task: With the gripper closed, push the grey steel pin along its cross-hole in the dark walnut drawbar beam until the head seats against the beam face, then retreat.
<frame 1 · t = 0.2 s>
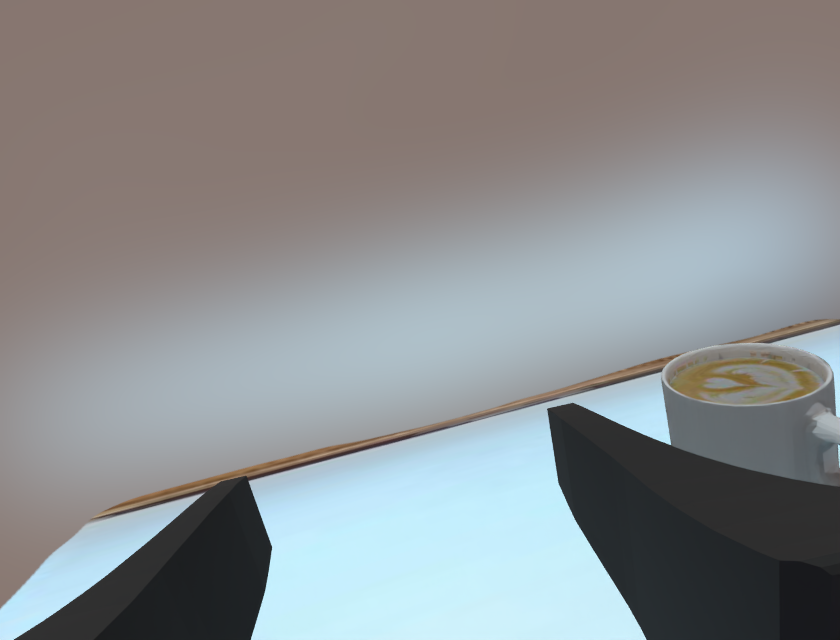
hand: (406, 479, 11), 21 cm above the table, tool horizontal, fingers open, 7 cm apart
coffee mug: (773, 508, 35), on the table
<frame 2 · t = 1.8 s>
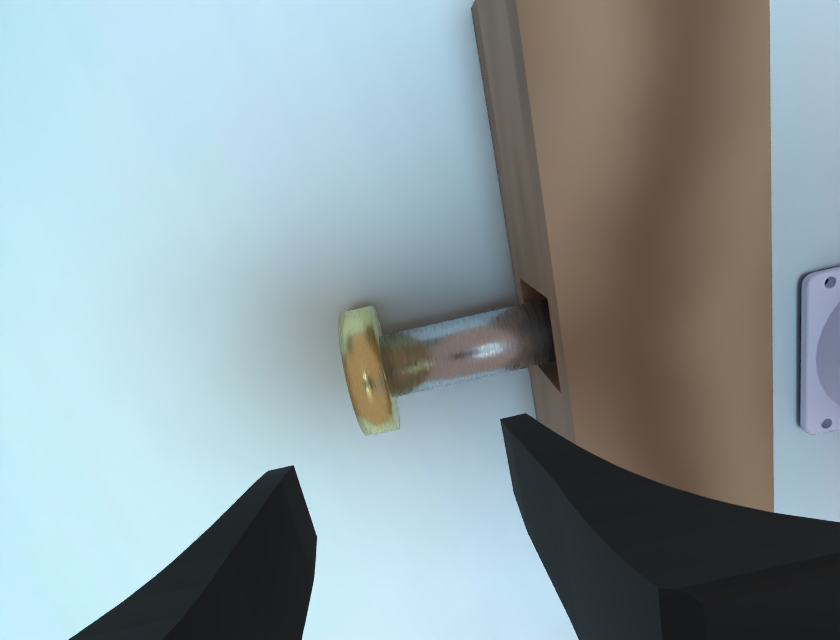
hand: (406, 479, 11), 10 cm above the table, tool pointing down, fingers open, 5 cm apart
drawbar beam: (592, 251, 21), on the table
steel pin: (472, 347, 19), point 3 cm above the table, slide at 0.0 cm
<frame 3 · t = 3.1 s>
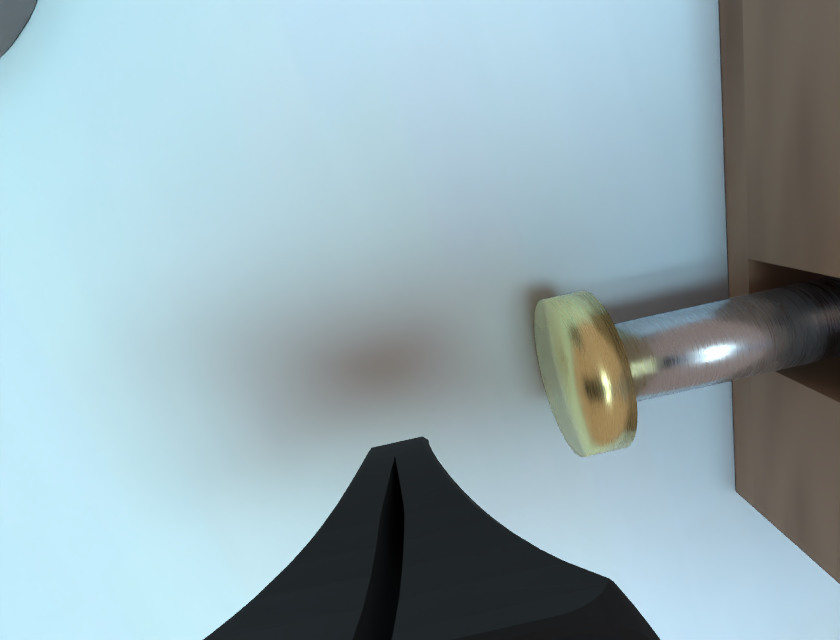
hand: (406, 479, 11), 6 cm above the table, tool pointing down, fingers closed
drawbar beam: (826, 227, 17), on the table
steel pin: (707, 343, 15), point 3 cm above the table, slide at 0.0 cm
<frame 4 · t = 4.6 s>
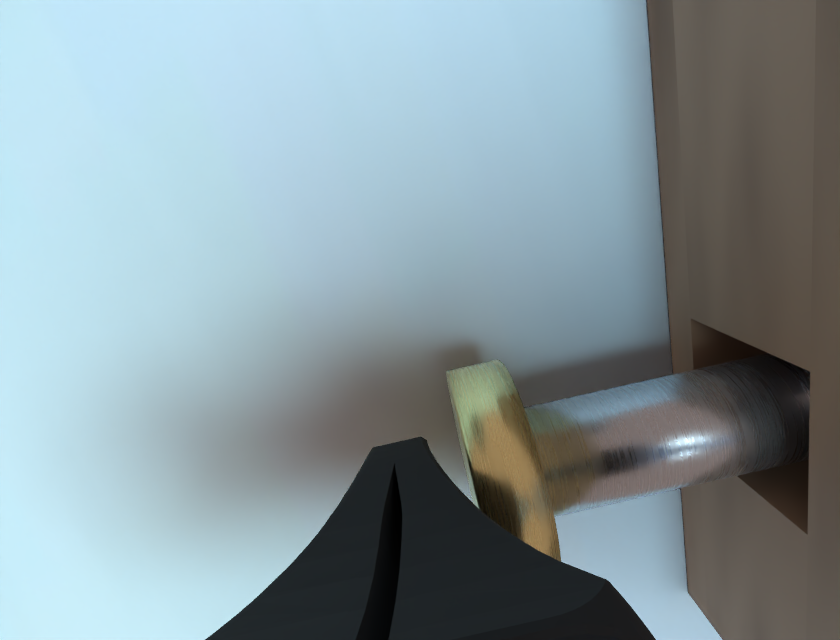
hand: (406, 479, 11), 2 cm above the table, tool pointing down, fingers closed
drawbar beam: (794, 273, 13), on the table
steel pin: (669, 431, 11), point 3 cm above the table, slide at 0.9 cm, touching gripper
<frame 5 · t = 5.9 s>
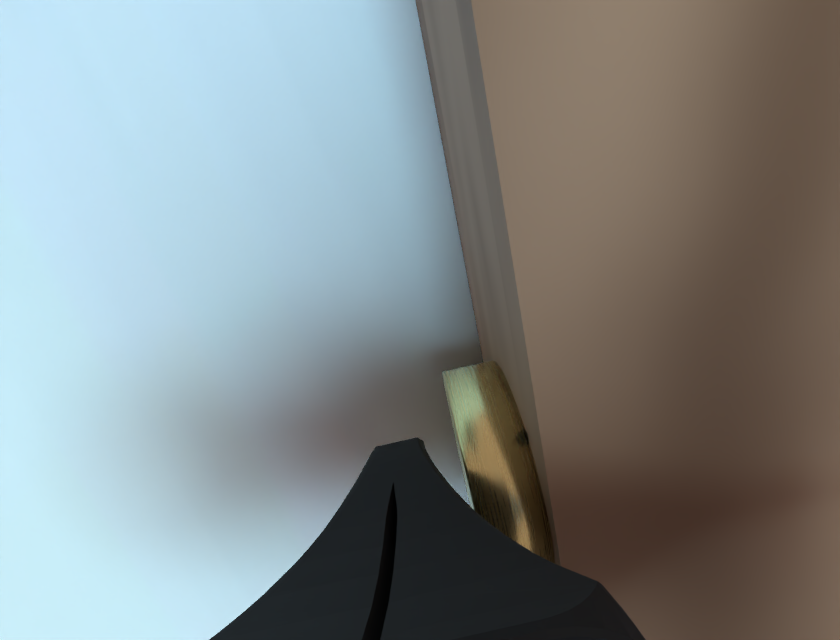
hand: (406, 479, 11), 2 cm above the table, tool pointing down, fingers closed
drawbar beam: (606, 315, 13), on the table
steel pin: (664, 431, 11), point 3 cm above the table, slide at 6.0 cm, touching drawbar beam, gripper
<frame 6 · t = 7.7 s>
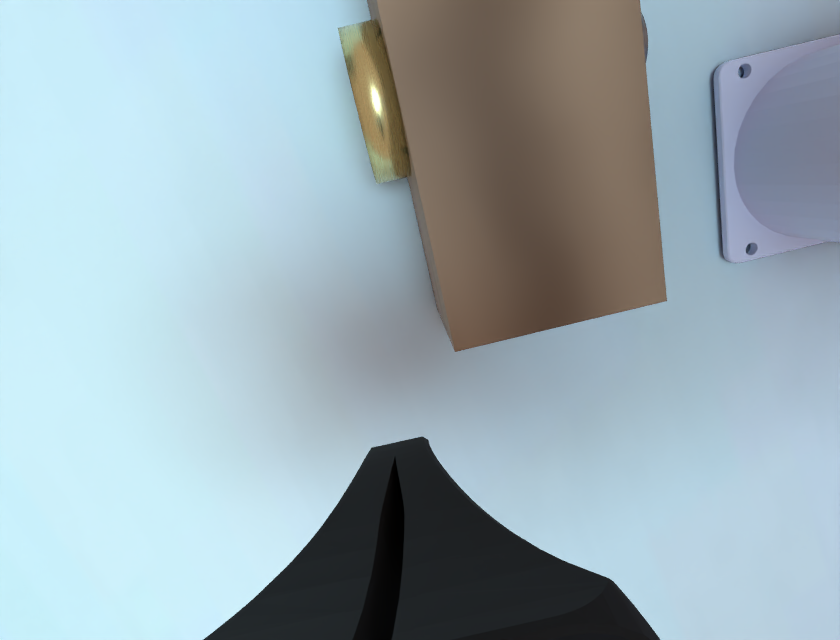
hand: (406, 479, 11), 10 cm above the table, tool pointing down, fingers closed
drawbar beam: (470, 36, 18), on the table
steel pin: (494, 78, 16), point 3 cm above the table, slide at 6.0 cm, touching drawbar beam
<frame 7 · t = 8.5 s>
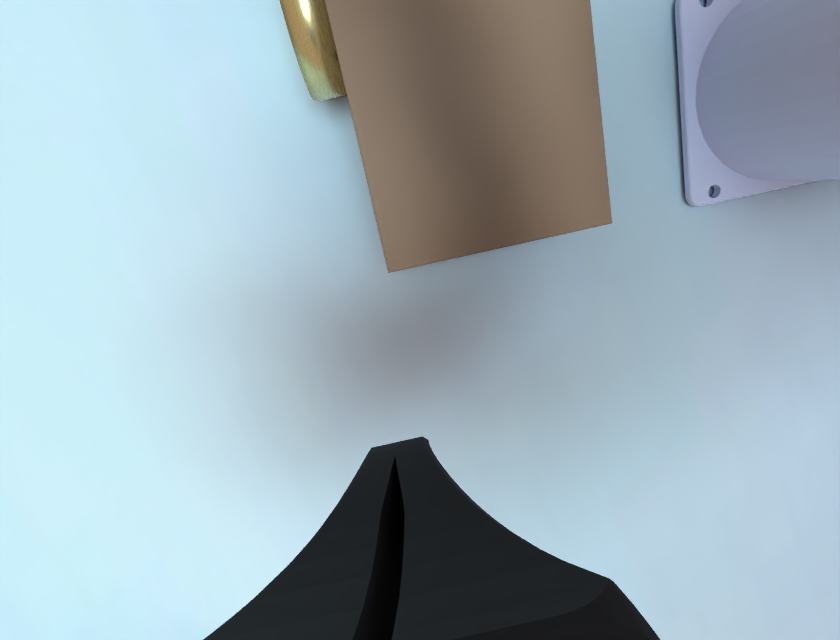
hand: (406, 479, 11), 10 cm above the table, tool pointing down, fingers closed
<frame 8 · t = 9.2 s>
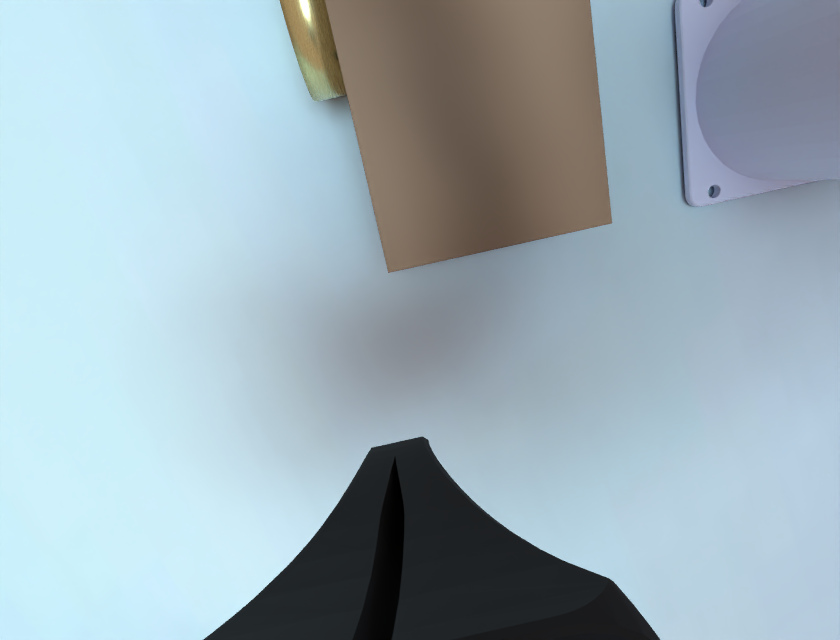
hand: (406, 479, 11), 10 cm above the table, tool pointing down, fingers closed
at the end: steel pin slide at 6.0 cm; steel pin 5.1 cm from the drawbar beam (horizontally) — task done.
